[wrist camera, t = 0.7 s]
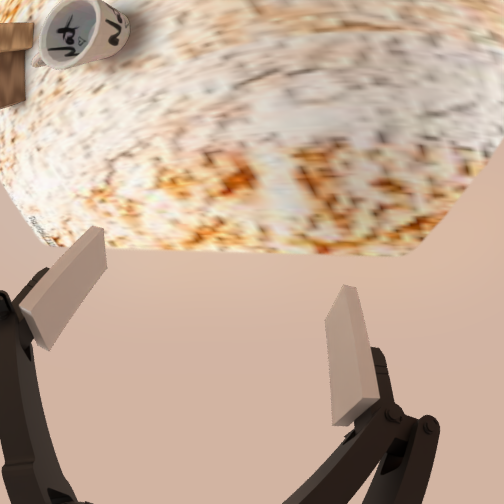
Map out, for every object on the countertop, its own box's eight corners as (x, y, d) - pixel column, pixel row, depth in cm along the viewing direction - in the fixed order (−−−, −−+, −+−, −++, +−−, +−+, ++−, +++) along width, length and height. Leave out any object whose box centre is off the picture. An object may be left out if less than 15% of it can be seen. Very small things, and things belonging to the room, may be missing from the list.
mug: (146, 49, 30) (107, 44, 22) (68, 89, 33) (25, 99, 25) (133, -8, 25) (94, -23, 16) (57, 38, 28) (14, 39, 19)
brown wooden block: (11, 31, 25) (-19, 34, 18) (27, 22, 25) (-4, 23, 18) (11, 105, 34) (-19, 115, 27) (26, 100, 34) (-6, 109, 27)
